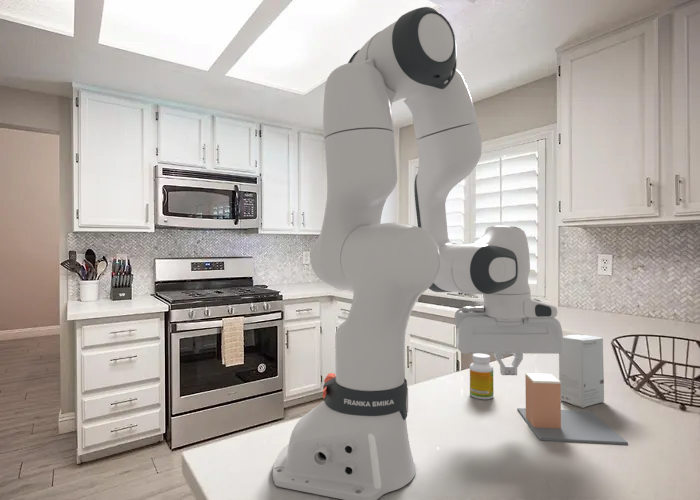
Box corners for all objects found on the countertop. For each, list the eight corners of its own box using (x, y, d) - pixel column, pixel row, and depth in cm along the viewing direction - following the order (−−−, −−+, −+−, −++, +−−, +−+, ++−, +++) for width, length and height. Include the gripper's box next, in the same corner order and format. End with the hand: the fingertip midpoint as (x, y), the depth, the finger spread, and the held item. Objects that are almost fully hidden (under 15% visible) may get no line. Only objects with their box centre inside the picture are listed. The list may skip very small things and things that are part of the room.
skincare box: (582, 409, 88) (582, 340, 88) (557, 400, 94) (556, 335, 94) (605, 402, 92) (605, 336, 92) (579, 393, 97) (579, 332, 97)
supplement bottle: (495, 400, 93) (494, 358, 93) (470, 399, 94) (470, 357, 94) (491, 392, 99) (491, 352, 99) (468, 391, 100) (468, 352, 100)
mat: (539, 440, 74) (539, 437, 74) (517, 410, 88) (517, 408, 88) (627, 444, 72) (627, 442, 72) (590, 412, 86) (590, 411, 86)
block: (533, 427, 78) (533, 380, 78) (525, 416, 83) (525, 373, 83) (560, 428, 78) (560, 381, 78) (551, 417, 83) (550, 373, 83)
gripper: (456, 309, 80) (458, 379, 80) (566, 308, 77) (567, 380, 77) (452, 304, 86) (454, 369, 86) (553, 303, 83) (555, 370, 84)
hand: (508, 374), depth 82 cm, fingers closed
